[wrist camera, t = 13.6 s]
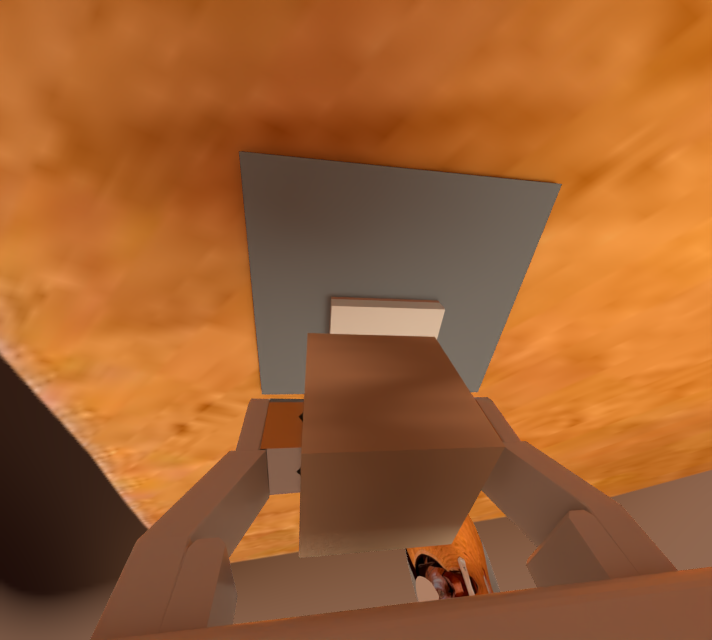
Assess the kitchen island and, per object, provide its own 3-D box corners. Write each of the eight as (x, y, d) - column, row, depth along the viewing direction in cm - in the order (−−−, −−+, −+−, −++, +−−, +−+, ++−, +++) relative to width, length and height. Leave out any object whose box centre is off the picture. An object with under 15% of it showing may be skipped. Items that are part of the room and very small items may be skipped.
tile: (445, 309, 23) (331, 305, 22) (426, 376, 26) (327, 377, 25) (438, 300, 24) (331, 296, 23) (421, 365, 28) (327, 365, 26)
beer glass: (416, 421, 33) (479, 597, 20) (451, 445, 36) (526, 611, 23) (372, 453, 35) (404, 631, 22) (409, 473, 38) (455, 640, 25)
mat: (555, 183, 21) (561, 184, 21) (475, 388, 31) (477, 392, 30) (241, 151, 18) (238, 151, 17) (263, 389, 28) (262, 394, 27)
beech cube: (434, 336, 9) (505, 446, 6) (410, 423, 11) (451, 544, 8) (307, 333, 9) (300, 453, 5) (304, 425, 10) (299, 557, 7)
